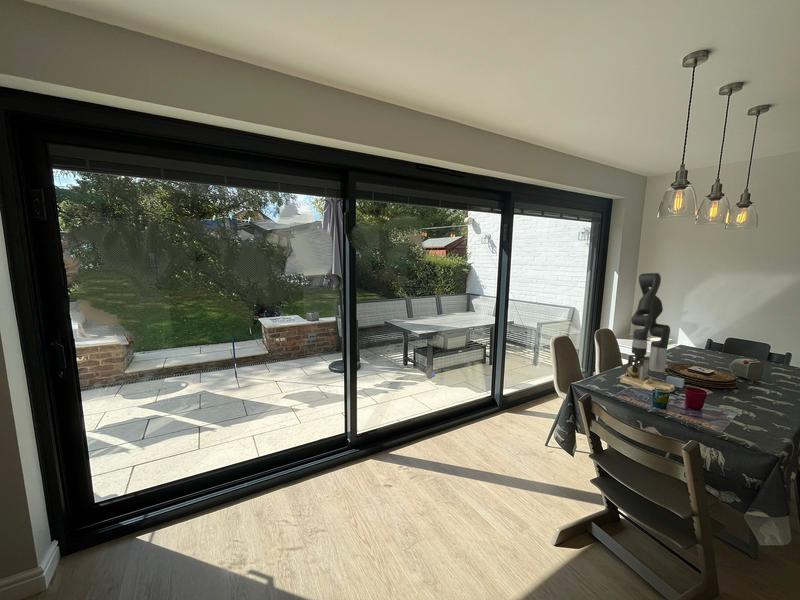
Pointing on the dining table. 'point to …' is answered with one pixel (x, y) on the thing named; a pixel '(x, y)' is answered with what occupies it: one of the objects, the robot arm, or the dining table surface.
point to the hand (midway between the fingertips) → (637, 371)
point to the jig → (647, 383)
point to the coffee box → (638, 368)
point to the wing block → (675, 381)
